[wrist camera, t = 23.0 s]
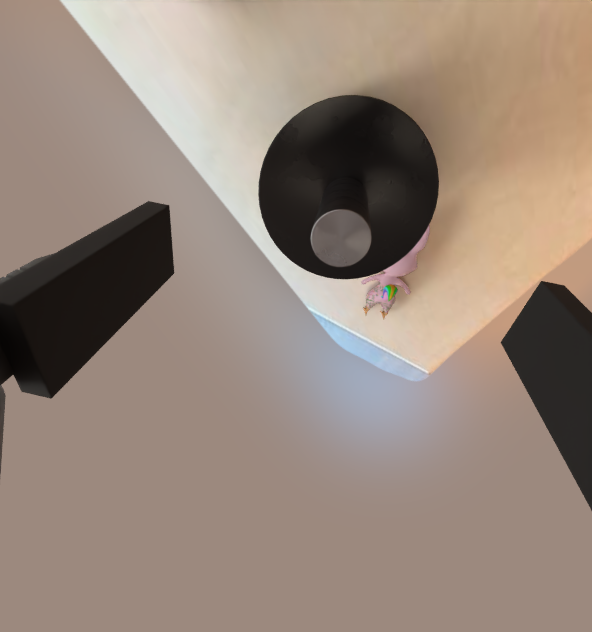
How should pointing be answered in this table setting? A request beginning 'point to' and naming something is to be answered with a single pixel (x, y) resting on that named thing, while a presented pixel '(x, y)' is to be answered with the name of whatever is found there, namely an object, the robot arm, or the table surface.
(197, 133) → the table surface
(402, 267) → the pink toy creature
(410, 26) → the table surface
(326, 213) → the lid
